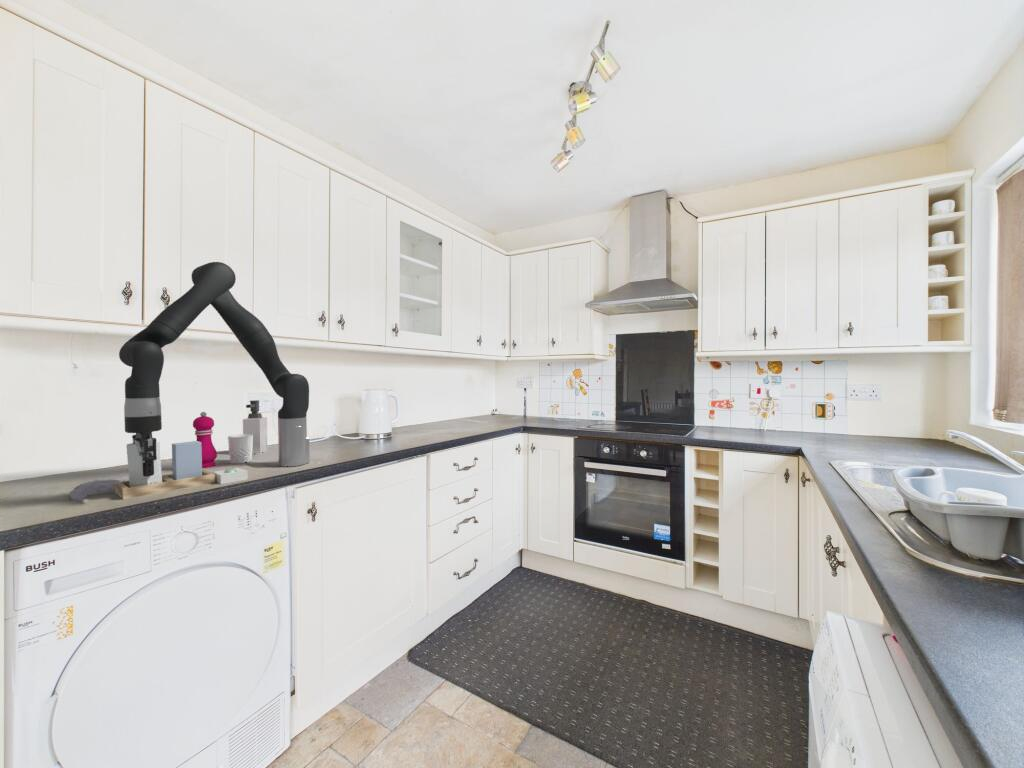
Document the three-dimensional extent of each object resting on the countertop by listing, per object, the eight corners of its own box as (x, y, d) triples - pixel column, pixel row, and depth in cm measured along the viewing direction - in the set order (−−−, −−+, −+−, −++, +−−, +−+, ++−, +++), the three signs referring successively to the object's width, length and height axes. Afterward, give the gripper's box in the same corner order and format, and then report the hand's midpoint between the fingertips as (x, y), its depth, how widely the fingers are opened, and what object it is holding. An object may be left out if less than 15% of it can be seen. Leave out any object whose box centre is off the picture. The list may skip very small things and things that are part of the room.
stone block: (68, 509, 106) (119, 495, 111) (62, 492, 105) (114, 478, 111) (83, 499, 116) (129, 486, 121) (78, 483, 115) (124, 471, 121)
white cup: (223, 463, 151) (222, 436, 151) (242, 459, 158) (242, 433, 158) (239, 464, 149) (238, 437, 148) (258, 460, 156) (258, 434, 156)
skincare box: (163, 484, 114) (162, 441, 114) (147, 488, 110) (145, 444, 109) (144, 483, 115) (142, 440, 114) (127, 487, 110) (125, 443, 110)
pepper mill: (203, 471, 138) (202, 413, 138) (186, 470, 140) (184, 412, 139) (222, 466, 146) (221, 411, 145) (205, 465, 147) (204, 410, 146)
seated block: (197, 480, 123) (197, 440, 123) (202, 482, 121) (201, 442, 120) (172, 484, 118) (171, 443, 118) (176, 486, 116) (175, 445, 116)
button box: (239, 478, 129) (238, 467, 129) (247, 482, 125) (247, 470, 125) (212, 483, 123) (212, 471, 123) (221, 487, 119) (220, 475, 119)
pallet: (203, 480, 127) (202, 469, 127) (215, 486, 120) (214, 474, 120) (115, 495, 111) (114, 482, 111) (123, 503, 105) (123, 489, 105)
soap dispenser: (240, 455, 166) (239, 401, 165) (251, 451, 174) (250, 400, 174) (257, 454, 167) (256, 401, 166) (267, 450, 175) (266, 400, 175)
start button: (233, 476, 126) (233, 468, 126) (236, 477, 124) (236, 469, 124) (223, 478, 124) (223, 470, 124) (226, 479, 122) (226, 471, 122)
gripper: (168, 414, 110) (169, 475, 111) (154, 411, 119) (155, 467, 119) (130, 417, 104) (132, 481, 105) (119, 413, 113) (120, 472, 113)
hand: (145, 473), depth 112 cm, fingers closed on skincare box, 7 cm apart
